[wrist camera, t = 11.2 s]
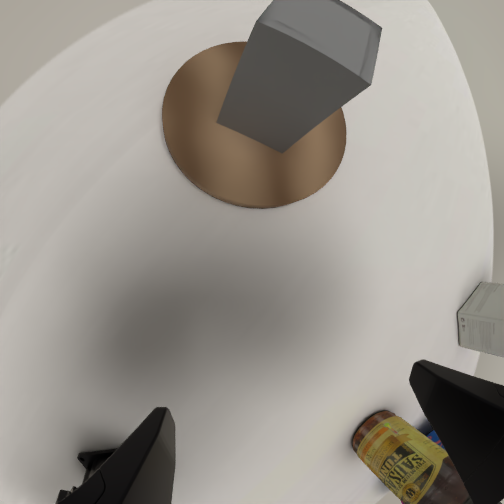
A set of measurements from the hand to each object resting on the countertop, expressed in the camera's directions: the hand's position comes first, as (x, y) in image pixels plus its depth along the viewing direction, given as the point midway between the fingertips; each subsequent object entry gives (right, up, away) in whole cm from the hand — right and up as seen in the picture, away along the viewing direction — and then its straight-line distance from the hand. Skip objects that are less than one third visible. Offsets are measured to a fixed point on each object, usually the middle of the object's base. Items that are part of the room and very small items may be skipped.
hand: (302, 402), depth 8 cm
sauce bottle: (+12, -15, +16) cm, 25 cm away
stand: (-1, +15, +11) cm, 19 cm away
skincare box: (+28, -3, +20) cm, 34 cm away
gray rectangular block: (-1, +15, +10) cm, 18 cm away
